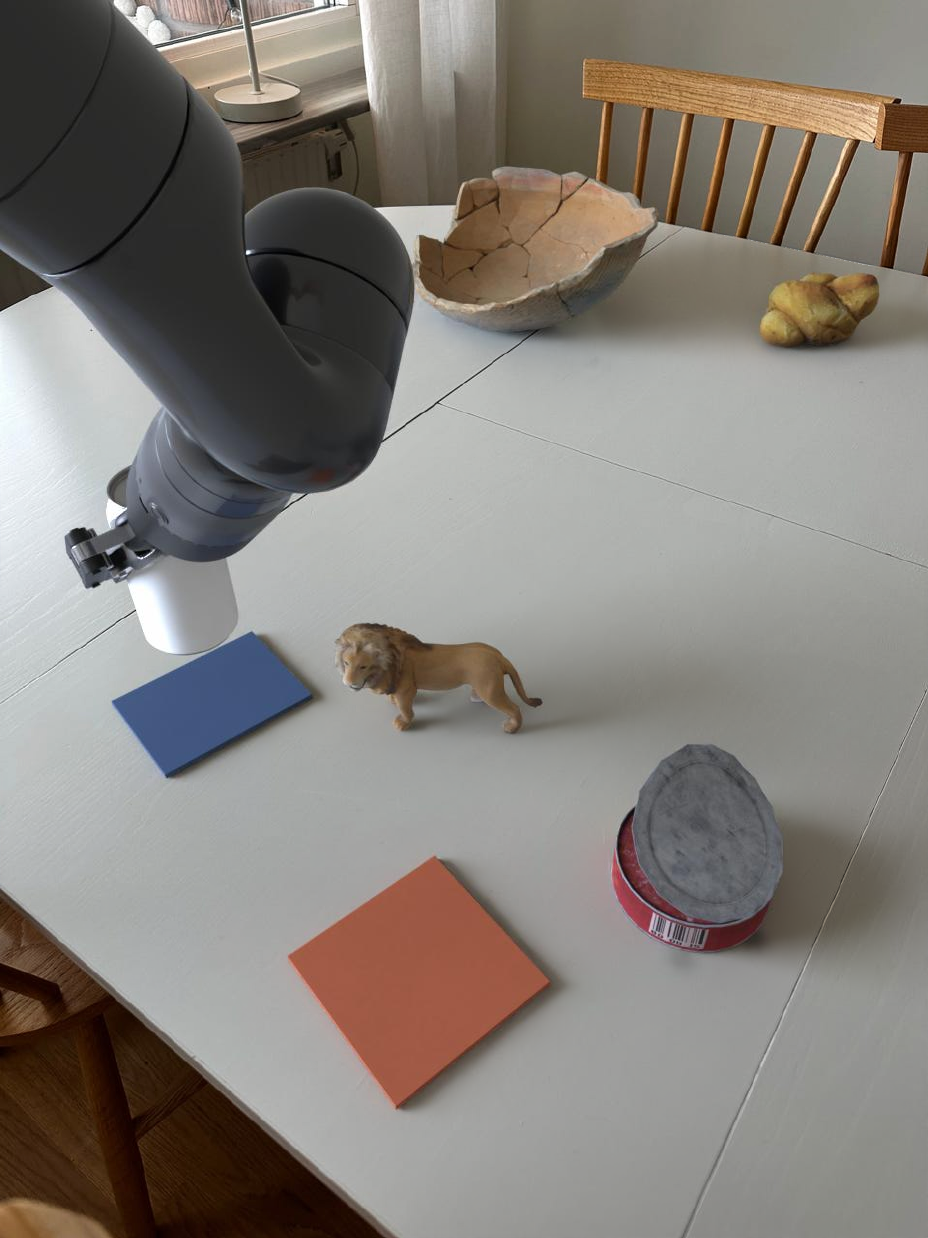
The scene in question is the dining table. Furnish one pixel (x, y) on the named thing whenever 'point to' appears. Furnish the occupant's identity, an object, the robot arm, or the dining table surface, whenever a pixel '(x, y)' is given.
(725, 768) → the canned food
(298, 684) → the blue mat
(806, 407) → the dining table surface
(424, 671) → the lion figurine
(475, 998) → the terracotta mat
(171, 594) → the can
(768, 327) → the bread roll
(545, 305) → the ceramic bowl
